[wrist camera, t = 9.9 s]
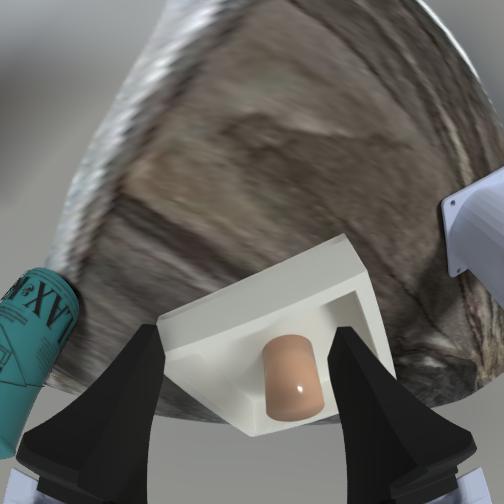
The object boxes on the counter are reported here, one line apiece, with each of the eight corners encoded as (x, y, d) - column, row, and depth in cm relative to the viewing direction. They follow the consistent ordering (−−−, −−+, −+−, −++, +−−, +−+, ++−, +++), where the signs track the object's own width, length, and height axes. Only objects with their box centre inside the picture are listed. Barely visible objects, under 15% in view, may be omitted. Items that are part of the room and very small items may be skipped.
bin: (343, 232, 19) (366, 270, 15) (384, 354, 27) (398, 389, 23) (158, 316, 23) (145, 358, 19) (250, 402, 30) (251, 437, 26)
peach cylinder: (321, 338, 23) (335, 397, 18) (299, 368, 26) (308, 423, 20) (273, 330, 23) (279, 392, 18) (255, 361, 25) (258, 419, 20)
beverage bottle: (97, 315, 23) (23, 521, 6) (45, 310, 23) (-35, 478, 6) (75, 254, 20) (-52, 484, 2) (22, 254, 20) (-96, 430, 2)
